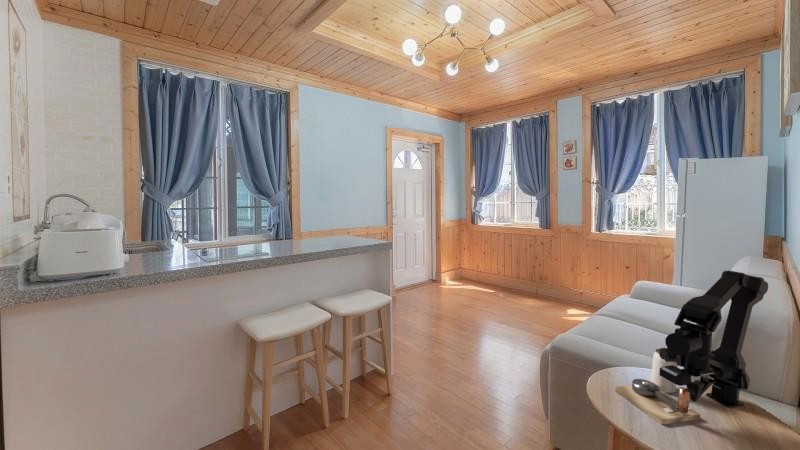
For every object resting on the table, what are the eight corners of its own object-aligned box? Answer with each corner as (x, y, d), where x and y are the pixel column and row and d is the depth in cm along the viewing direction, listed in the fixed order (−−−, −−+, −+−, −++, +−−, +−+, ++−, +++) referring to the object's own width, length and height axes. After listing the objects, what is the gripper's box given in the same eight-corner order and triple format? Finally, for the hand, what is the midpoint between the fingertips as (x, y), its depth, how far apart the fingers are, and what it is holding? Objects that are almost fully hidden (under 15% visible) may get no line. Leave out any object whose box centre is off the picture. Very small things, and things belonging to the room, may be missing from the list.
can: (679, 395, 111) (683, 358, 110) (656, 392, 113) (660, 356, 111) (668, 383, 118) (672, 349, 116) (646, 381, 119) (650, 347, 118)
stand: (649, 387, 115) (649, 382, 115) (699, 419, 100) (700, 413, 100) (615, 391, 113) (615, 386, 112) (661, 424, 97) (662, 418, 97)
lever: (626, 386, 112) (628, 365, 112) (643, 383, 114) (645, 362, 114) (677, 417, 97) (680, 393, 97) (695, 413, 99) (698, 390, 99)
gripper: (694, 333, 108) (691, 382, 109) (643, 339, 104) (640, 389, 106) (736, 348, 97) (731, 402, 99) (681, 356, 93) (677, 412, 95)
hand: (693, 401), depth 100 cm, fingers closed
